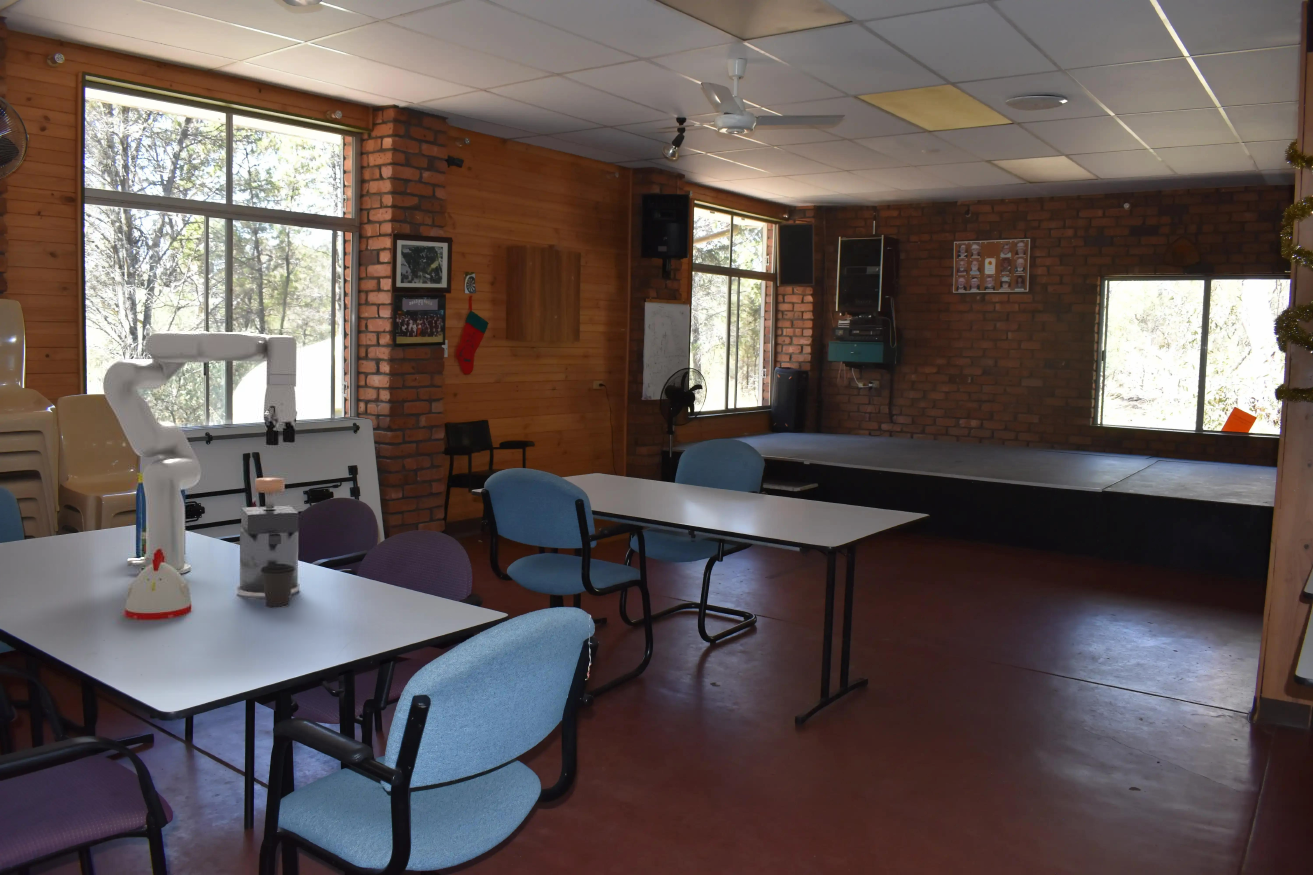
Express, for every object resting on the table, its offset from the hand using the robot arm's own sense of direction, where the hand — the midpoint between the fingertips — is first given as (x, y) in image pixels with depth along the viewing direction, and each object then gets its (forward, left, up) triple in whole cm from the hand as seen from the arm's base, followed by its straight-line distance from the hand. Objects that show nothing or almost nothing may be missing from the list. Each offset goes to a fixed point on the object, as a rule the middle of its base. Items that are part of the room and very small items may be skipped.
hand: (280, 443), depth 262 cm
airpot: (-5, -17, -37) cm, 41 cm away
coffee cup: (-5, -29, -38) cm, 48 cm away
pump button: (-5, -16, -15) cm, 22 cm away
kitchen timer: (-31, -26, -38) cm, 55 cm away
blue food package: (-27, +42, -38) cm, 62 cm away
